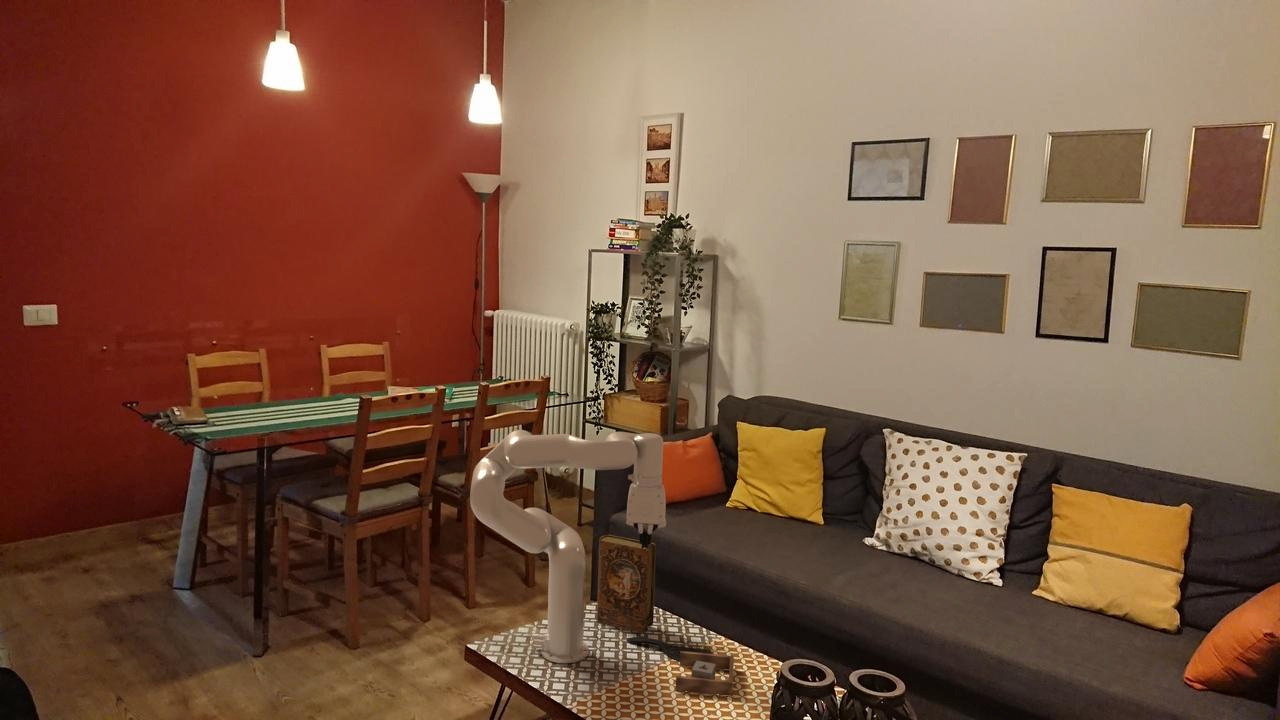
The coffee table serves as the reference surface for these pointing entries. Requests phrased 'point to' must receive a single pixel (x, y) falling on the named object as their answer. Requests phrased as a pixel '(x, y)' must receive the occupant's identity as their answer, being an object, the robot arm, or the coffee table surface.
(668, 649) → the hairbrush
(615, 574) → the book
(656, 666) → the coffee table surface
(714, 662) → the box
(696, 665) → the dice cube
